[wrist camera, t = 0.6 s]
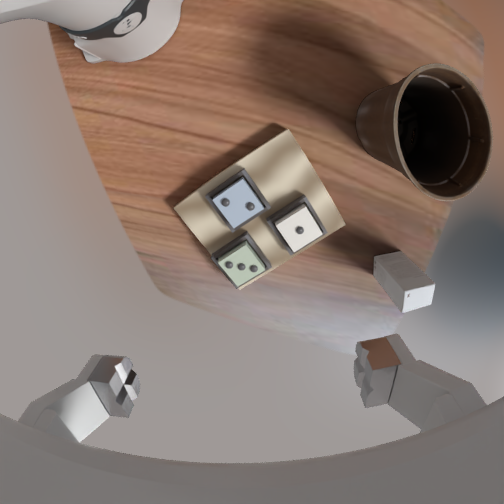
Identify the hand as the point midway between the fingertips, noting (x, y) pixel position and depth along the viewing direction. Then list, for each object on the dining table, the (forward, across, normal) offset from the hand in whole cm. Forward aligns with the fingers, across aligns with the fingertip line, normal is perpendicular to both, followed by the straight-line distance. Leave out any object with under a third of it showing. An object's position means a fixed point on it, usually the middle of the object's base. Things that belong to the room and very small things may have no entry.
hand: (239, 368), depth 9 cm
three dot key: (+34, +3, +9) cm, 35 cm away
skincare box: (+39, -23, +14) cm, 48 cm away
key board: (+37, -1, +2) cm, 37 cm away
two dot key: (+33, +2, 0) cm, 33 cm away
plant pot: (+37, -22, -10) cm, 44 cm away
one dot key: (+34, -6, +4) cm, 35 cm away
